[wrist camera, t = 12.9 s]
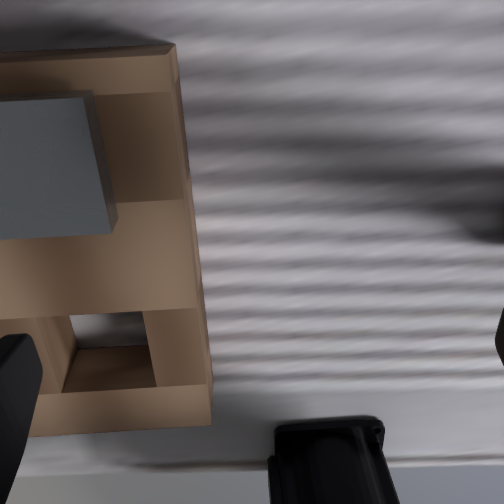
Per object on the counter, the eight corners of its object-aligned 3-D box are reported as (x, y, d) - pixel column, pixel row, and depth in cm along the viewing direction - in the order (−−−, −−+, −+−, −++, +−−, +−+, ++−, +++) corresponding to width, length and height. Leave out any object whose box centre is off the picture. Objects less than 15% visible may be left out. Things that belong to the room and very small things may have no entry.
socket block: (175, 44, 17) (166, 55, 15) (213, 380, 26) (211, 425, 23) (-72, 55, 17) (-126, 69, 15) (47, 391, 26) (27, 437, 23)
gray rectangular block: (115, 71, 17) (82, 98, 14) (134, 182, 20) (111, 233, 16) (-5, 77, 17) (-73, 105, 13) (28, 188, 20) (-22, 241, 16)
